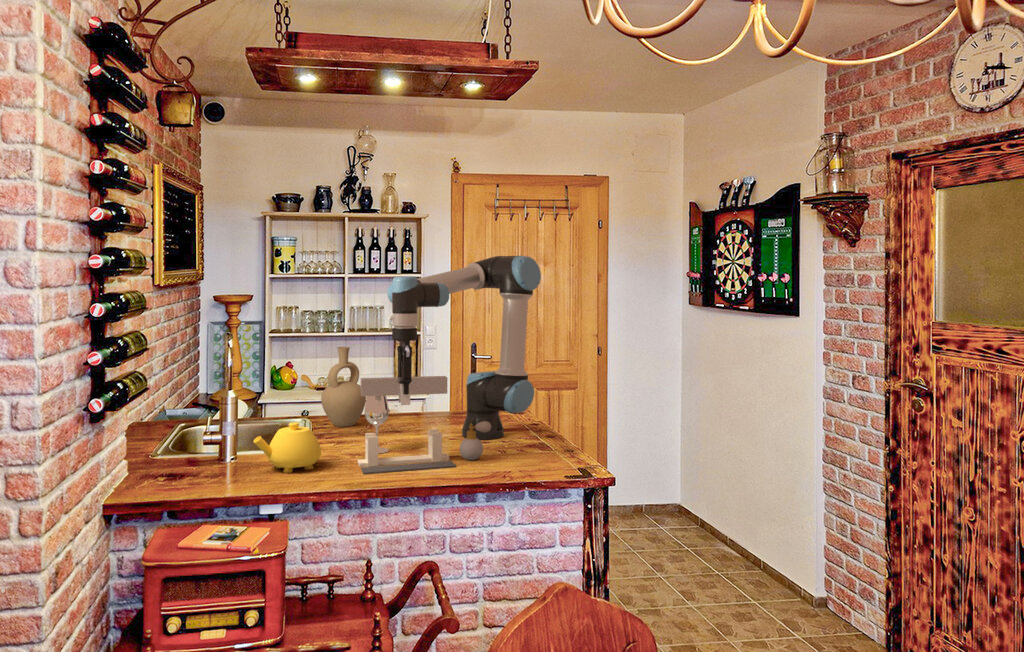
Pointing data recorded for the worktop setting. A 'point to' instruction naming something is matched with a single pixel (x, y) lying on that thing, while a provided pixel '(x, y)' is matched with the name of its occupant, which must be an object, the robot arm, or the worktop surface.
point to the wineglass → (377, 413)
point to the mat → (407, 467)
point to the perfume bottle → (473, 441)
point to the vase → (343, 394)
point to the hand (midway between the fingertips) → (404, 403)
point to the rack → (433, 456)
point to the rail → (394, 387)
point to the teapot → (291, 448)
